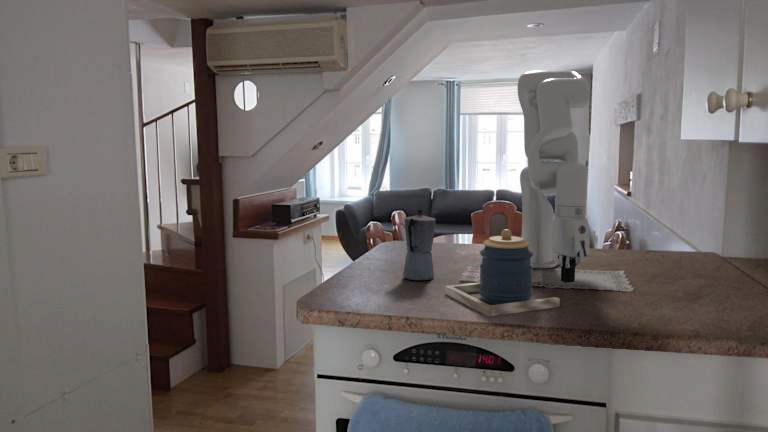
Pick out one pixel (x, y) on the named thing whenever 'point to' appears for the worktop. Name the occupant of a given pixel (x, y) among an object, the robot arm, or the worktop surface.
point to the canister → (505, 269)
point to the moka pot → (419, 247)
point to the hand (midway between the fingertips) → (567, 281)
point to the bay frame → (500, 309)
